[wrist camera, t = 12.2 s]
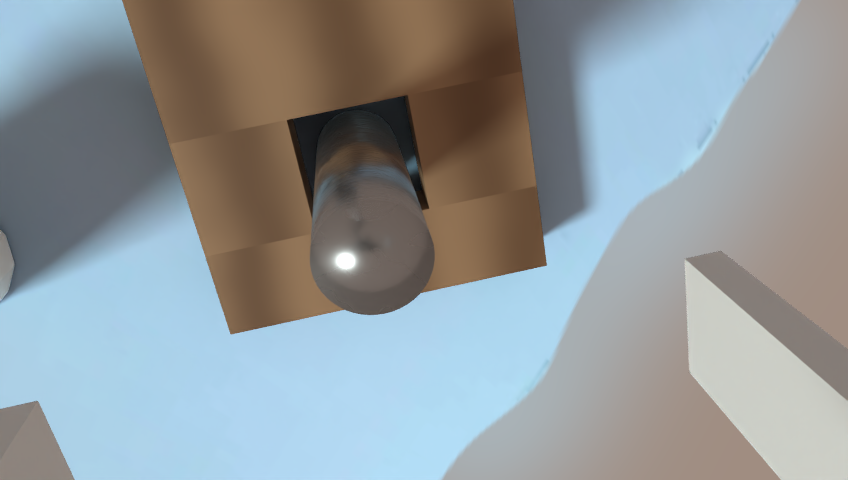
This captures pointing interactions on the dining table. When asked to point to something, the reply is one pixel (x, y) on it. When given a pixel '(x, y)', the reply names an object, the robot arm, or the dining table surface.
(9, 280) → the white cup
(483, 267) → the socket board
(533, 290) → the dining table surface
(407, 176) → the peg
